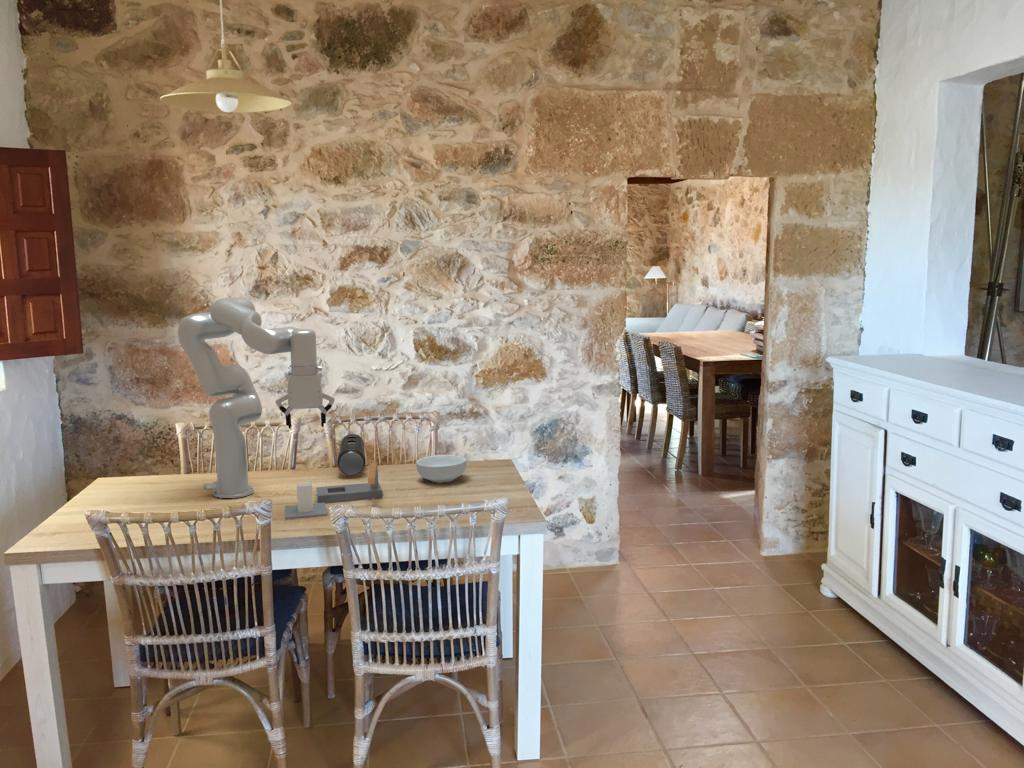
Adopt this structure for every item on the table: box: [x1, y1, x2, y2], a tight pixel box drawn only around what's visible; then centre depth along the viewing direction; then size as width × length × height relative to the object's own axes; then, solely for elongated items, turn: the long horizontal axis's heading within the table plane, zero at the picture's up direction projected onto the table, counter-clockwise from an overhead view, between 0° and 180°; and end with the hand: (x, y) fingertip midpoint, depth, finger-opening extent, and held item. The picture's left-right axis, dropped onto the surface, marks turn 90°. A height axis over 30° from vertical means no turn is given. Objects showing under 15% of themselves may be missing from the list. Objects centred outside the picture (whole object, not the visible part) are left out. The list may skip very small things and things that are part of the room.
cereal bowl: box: [415, 454, 467, 484], centre depth 289 cm, size 17×17×7 cm
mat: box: [284, 502, 328, 520], centre depth 257 cm, size 12×12×1 cm
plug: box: [296, 481, 314, 513], centre depth 256 cm, size 4×4×8 cm
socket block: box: [316, 468, 384, 504], centre depth 271 cm, size 20×10×8 cm, turn 105°
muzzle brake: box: [337, 433, 366, 476], centre depth 305 cm, size 10×28×10 cm, turn 10°
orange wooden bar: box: [367, 460, 379, 484], centre depth 264 cm, size 20×3×2 cm, turn 7°
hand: (306, 426), depth 257 cm, fingers open, 9 cm apart
